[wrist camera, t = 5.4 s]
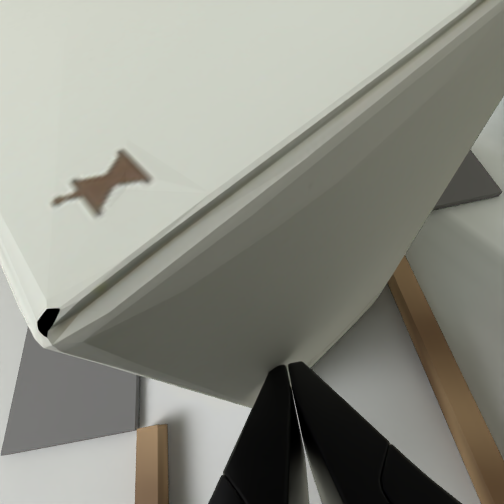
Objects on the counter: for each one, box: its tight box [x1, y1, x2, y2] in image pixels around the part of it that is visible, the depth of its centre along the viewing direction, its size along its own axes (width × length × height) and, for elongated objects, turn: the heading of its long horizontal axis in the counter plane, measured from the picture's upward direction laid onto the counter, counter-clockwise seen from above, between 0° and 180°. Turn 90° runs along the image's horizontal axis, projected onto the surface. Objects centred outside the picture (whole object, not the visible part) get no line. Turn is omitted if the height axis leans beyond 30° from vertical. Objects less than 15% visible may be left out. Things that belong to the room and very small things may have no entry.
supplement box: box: [0, 0, 504, 408], centre depth 11 cm, size 9×9×15 cm
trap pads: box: [1, 150, 502, 456], centre depth 19 cm, size 19×30×1 cm, turn 99°
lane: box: [135, 255, 504, 504], centre depth 17 cm, size 30×15×3 cm, turn 9°
